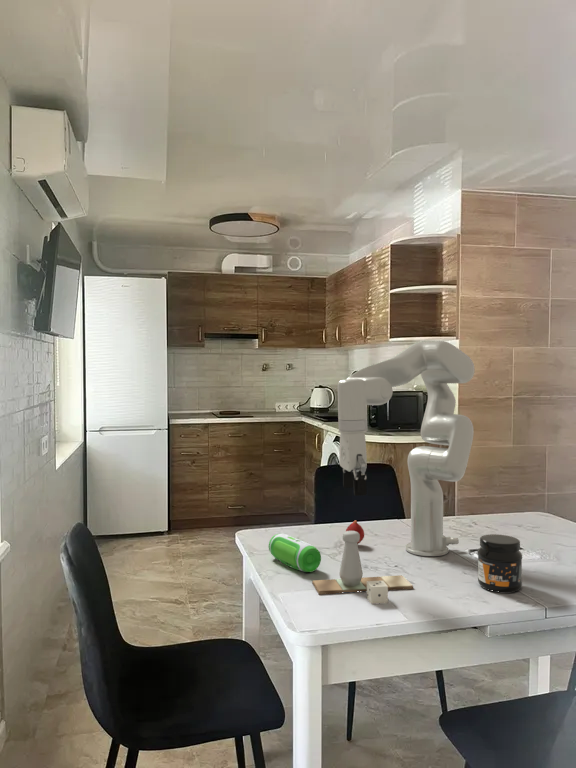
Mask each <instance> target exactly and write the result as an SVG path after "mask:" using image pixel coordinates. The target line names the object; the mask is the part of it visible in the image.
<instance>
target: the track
mask: <svg viewBox="0 0 576 768" xmlns="http://www.w3.org/2000/svg"><path fill="white" fill-rule="evenodd" d="M367 581H384V582H385V584H386V585H387V586H388V591H401V590H402V591H403V590H414V586H413V584H412V583H411V582H410V581H409V580H407V579H406V578H405V577H404V575H386V576H385V575H384V576H383V575H382V576H369V577H367V576H366V577H362V579H361V581H360V584H359V585H356V586H347V585H345V584H343V582H342V580H341V578H336V579H335V578H334V579H333V578H332V579H317V580H315V579H314V580H312V582H311V583H312V585H313V587H314V588H315V590H316V592H317V594H318V595H319V596H320V595H321V596H322V595H337V594H336V593H339V594H343V593H342V592H355V593H361V592H360V591H367ZM357 591H359V592H357Z"/></svg>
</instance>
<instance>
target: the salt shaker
mask: <svg viewBox="0 0 576 768" xmlns="http://www.w3.org/2000/svg"><path fill="white" fill-rule="evenodd" d="M342 540H343V542H344V546H343V551H342V556H341V557H342V558H341V562H340V563H341V564H340V568H339V579H341V580H342V582H343V584H345V585H347V586H356V585H359V584H360V581H361V579H362V578H363V574H364V573H363V568H362V563H361V562H362V561H361V558H360V553H359V544H357V542H359V540H360V534H359V533H358V532H356V531H346V530H345V531H344V532H343V533H342Z"/></svg>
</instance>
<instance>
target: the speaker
mask: <svg viewBox="0 0 576 768" xmlns="http://www.w3.org/2000/svg"><path fill="white" fill-rule="evenodd" d="M268 551H269V553H270V554H271V556H272V557H274V558H275V559H276V560H278V561H280V563H282V564H284V565H286V566H288V567H290V568H292V569H294V570H297V571H301V572H303V573H304V572H305V573H312V572H314V571H316V570H317V569H318V567H320V565H321V561H322V555H321V551H319V549H318V548H317V547H315V546H314V545H312V544H310V543H308V542H306V541H303V540H301V539H299V538H296V537H294V536H292V535H290V534H286V533H277V534H274V535H273V536H272V537H271V538H270V540H269V542H268Z"/></svg>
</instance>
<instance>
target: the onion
mask: <svg viewBox="0 0 576 768" xmlns="http://www.w3.org/2000/svg"><path fill="white" fill-rule="evenodd" d="M346 531H356V532H358V533H359V534H360V540H359V542H357V544H358V545H359V544H360V543H361V542H362V541H364V538H365V531H364V529H363V527H362V526H361V525H360V524H359V523H358V521H357V520H354V521H352V523H350V524H349V525H348V526H347V528H346V529H345V532H346Z"/></svg>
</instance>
